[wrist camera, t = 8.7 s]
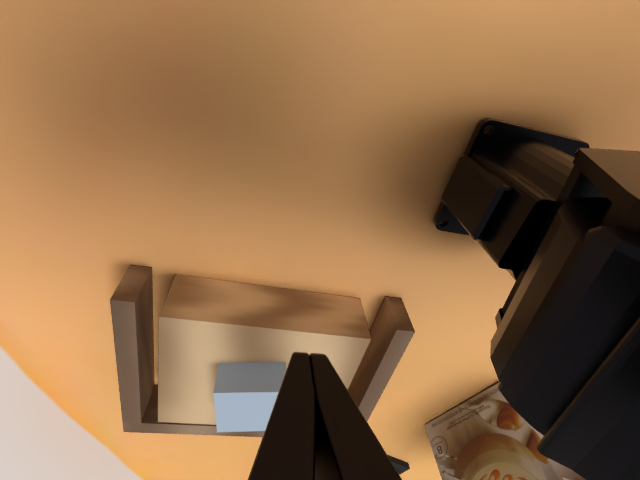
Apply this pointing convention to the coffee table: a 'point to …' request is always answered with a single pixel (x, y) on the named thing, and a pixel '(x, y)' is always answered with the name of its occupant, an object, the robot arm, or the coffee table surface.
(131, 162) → the coffee table surface
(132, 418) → the dock bay
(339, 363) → the beige rectangular block
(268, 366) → the light blue square block
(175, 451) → the coffee table surface
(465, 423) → the coffee box
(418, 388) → the coffee table surface
